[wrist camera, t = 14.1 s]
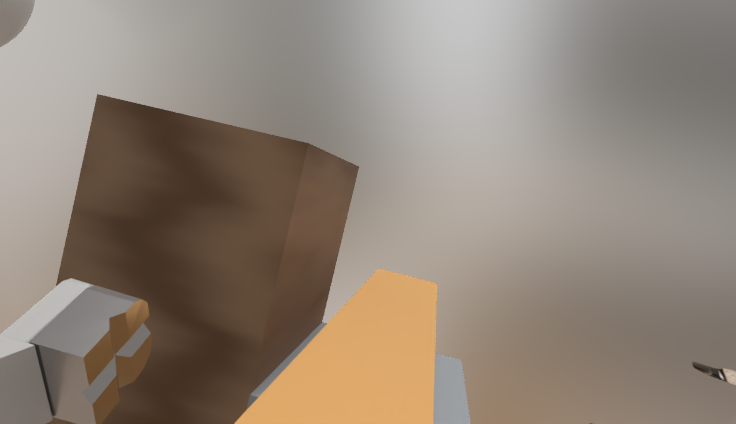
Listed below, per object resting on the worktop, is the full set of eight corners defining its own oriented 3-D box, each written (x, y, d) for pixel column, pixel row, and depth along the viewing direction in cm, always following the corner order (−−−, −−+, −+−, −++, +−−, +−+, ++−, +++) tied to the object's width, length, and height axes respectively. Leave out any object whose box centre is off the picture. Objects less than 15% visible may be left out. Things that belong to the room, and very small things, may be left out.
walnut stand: (-48, 763, 21) (97, 94, 20) (128, 561, 33) (224, 135, 32) (145, 842, 20) (308, 143, 19) (254, 605, 32) (358, 166, 31)
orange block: (169, 646, 9) (217, 441, 9) (365, 325, 33) (378, 268, 33) (377, 720, 9) (430, 507, 8) (422, 341, 32) (437, 283, 32)
